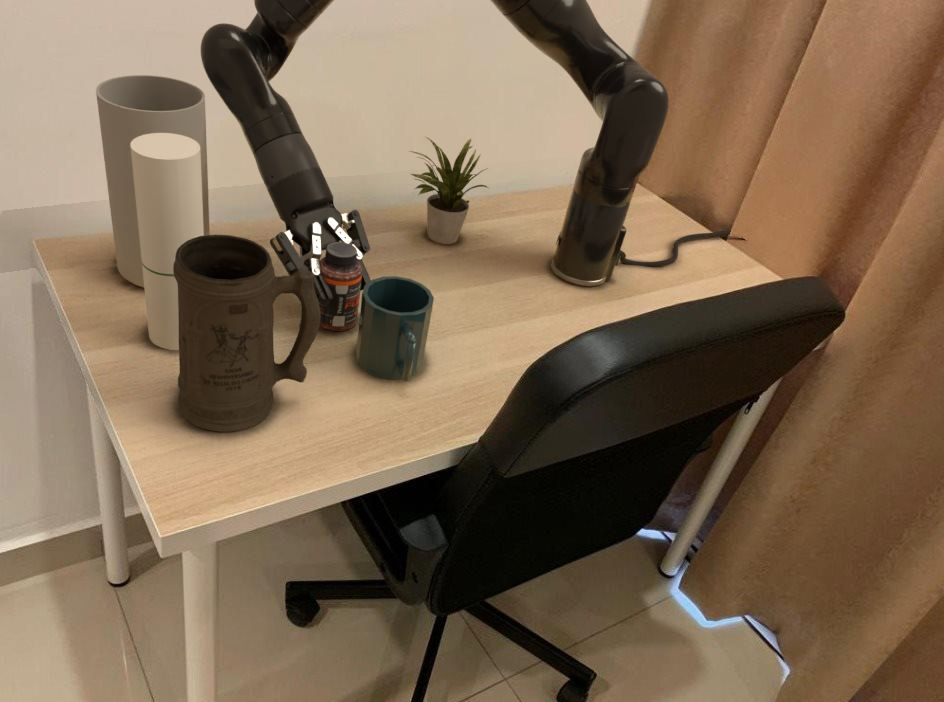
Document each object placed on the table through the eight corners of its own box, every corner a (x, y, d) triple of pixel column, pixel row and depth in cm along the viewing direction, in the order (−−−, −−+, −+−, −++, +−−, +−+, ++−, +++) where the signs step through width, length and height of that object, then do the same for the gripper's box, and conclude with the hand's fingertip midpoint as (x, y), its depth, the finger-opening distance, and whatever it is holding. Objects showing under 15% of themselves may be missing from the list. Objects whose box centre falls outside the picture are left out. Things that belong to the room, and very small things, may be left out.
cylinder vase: (194, 242, 116) (186, 74, 101) (223, 284, 109) (219, 109, 94) (107, 253, 110) (84, 76, 95) (131, 299, 103) (111, 114, 87)
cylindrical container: (216, 343, 98) (210, 156, 83) (159, 355, 94) (142, 162, 79) (196, 313, 102) (187, 130, 87) (141, 324, 99) (121, 135, 83)
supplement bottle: (349, 337, 104) (356, 265, 97) (307, 326, 104) (311, 253, 97) (362, 315, 108) (370, 244, 101) (322, 304, 109) (327, 233, 102)
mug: (349, 341, 103) (356, 277, 97) (412, 337, 106) (422, 275, 100) (370, 398, 95) (378, 331, 88) (437, 392, 98) (450, 328, 91)
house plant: (412, 206, 138) (424, 117, 128) (486, 224, 137) (505, 135, 127) (391, 241, 127) (403, 145, 117) (472, 261, 126) (491, 166, 116)
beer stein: (178, 440, 84) (182, 283, 72) (165, 380, 91) (166, 228, 79) (315, 426, 90) (339, 281, 79) (292, 371, 98) (311, 230, 86)
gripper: (261, 177, 93) (320, 305, 95) (349, 156, 102) (401, 272, 104) (235, 200, 99) (291, 320, 101) (321, 177, 108) (370, 287, 110)
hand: (346, 295), depth 102 cm, fingers closed on supplement bottle, 6 cm apart
